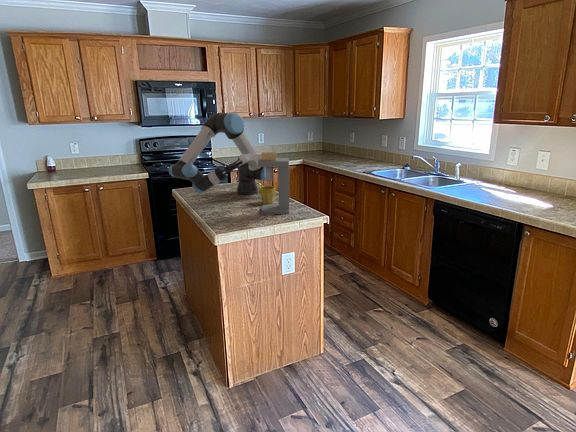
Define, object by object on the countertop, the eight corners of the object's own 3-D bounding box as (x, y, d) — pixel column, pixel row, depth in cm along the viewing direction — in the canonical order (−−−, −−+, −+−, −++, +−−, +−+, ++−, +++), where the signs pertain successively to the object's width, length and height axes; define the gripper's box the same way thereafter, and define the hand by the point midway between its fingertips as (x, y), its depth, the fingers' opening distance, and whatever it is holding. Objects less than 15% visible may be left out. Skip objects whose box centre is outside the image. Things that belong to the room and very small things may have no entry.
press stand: (261, 208, 226) (259, 158, 217) (289, 207, 226) (288, 158, 217) (259, 213, 215) (257, 161, 206) (289, 213, 214) (288, 161, 206)
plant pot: (256, 203, 236) (256, 188, 233) (263, 199, 245) (263, 185, 242) (271, 205, 232) (271, 189, 229) (278, 201, 241) (277, 186, 238)
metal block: (241, 159, 215) (241, 152, 213) (276, 158, 214) (276, 151, 213) (240, 160, 209) (239, 153, 208) (276, 160, 209) (276, 153, 207)
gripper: (225, 176, 227) (254, 159, 224) (217, 185, 203) (250, 166, 200) (218, 166, 225) (247, 148, 222) (209, 174, 201) (242, 153, 198)
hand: (248, 156), depth 211 cm, fingers open, 13 cm apart
